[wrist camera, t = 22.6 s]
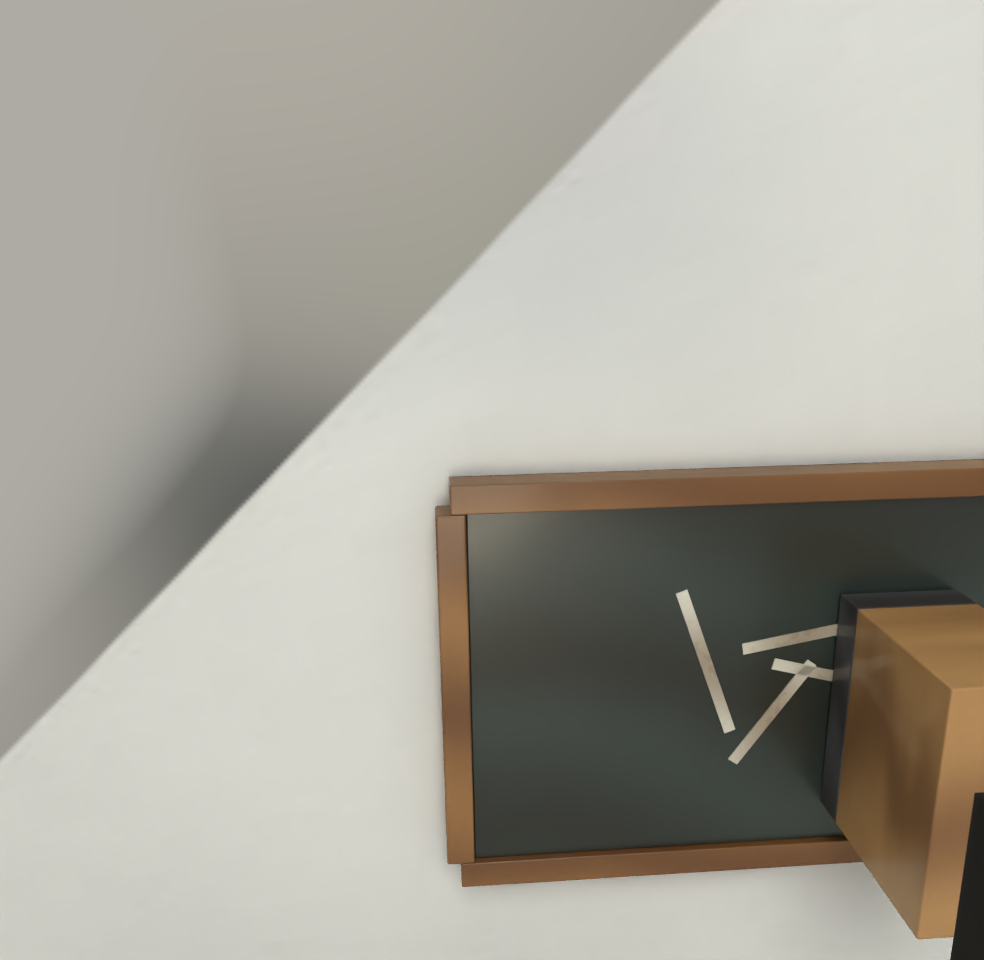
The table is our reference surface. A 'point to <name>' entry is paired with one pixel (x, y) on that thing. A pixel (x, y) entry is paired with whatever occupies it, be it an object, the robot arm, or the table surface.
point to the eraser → (908, 744)
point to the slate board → (667, 656)
